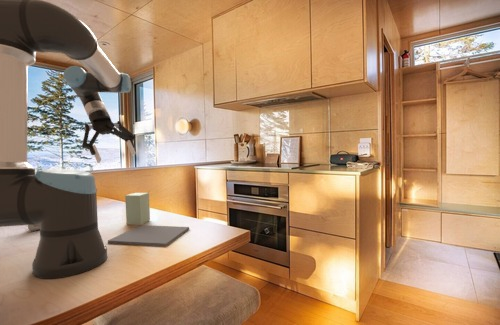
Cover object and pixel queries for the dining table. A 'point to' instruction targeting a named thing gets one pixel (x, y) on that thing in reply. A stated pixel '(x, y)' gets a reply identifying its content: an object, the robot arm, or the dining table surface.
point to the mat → (149, 235)
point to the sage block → (137, 208)
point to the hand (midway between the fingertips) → (117, 157)
